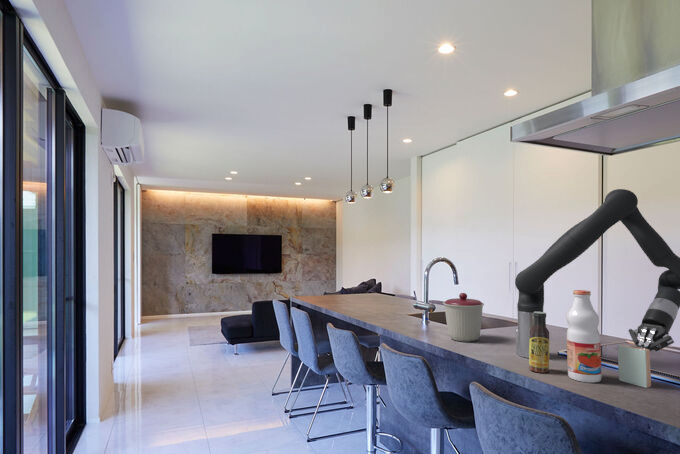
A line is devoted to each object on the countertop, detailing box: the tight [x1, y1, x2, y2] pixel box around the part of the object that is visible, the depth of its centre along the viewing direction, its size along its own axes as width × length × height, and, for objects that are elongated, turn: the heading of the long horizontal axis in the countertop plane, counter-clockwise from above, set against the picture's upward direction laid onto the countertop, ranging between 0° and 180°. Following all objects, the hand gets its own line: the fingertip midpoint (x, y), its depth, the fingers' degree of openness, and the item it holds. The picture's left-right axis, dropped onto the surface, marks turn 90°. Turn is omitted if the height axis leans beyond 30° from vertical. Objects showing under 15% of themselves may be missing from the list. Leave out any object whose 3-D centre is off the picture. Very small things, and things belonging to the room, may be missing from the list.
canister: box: [442, 292, 485, 343], centre depth 193 cm, size 18×18×21 cm
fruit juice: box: [566, 289, 602, 384], centre depth 136 cm, size 9×9×28 cm
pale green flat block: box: [617, 343, 652, 389], centre depth 131 cm, size 8×2×11 cm, turn 26°
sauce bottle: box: [528, 311, 550, 374], centre depth 144 cm, size 7×6×20 cm
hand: (639, 357), depth 132 cm, fingers closed
